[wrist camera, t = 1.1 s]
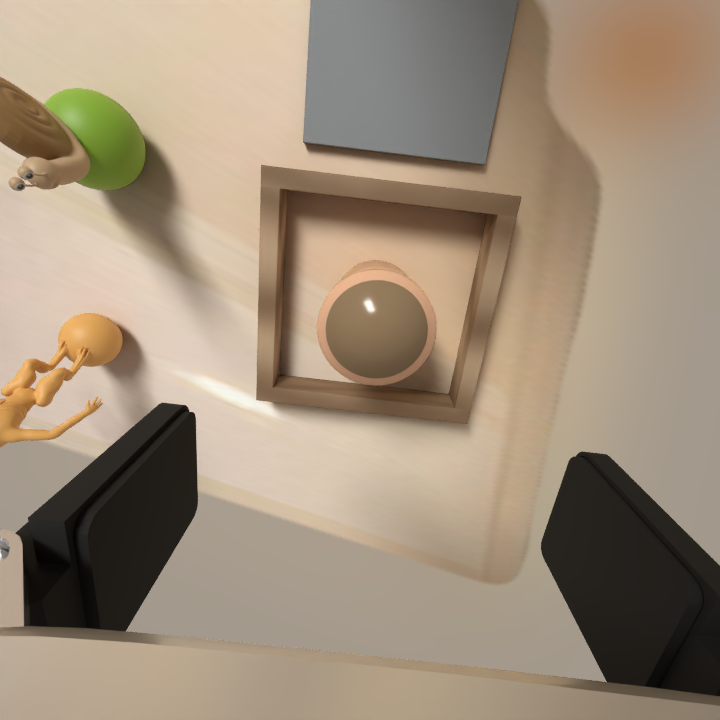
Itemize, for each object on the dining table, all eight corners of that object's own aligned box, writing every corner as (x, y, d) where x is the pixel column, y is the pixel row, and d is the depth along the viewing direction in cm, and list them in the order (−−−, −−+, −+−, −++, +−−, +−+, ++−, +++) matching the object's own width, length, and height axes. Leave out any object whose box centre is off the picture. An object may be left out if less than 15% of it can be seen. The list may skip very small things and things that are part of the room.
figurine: (163, 326, 31) (47, 392, 20) (152, 391, 33) (41, 483, 22) (56, 291, 30) (-127, 339, 19) (51, 360, 32) (-116, 439, 21)
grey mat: (317, -99, 22) (316, -107, 22) (530, -71, 22) (534, -78, 22) (304, 143, 26) (303, 141, 26) (482, 165, 27) (485, 164, 26)
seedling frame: (270, 168, 27) (261, 165, 25) (508, 197, 27) (521, 196, 25) (264, 386, 33) (256, 400, 30) (460, 408, 33) (467, 423, 31)
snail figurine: (138, 220, 28) (-14, 227, 17) (64, 142, 27) (-157, 94, 16) (188, 166, 27) (59, 137, 16) (114, 81, 25) (-89, -19, 14)
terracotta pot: (334, 249, 29) (321, 263, 21) (427, 260, 29) (447, 278, 21) (327, 338, 31) (312, 379, 24) (412, 347, 31) (425, 392, 24)
